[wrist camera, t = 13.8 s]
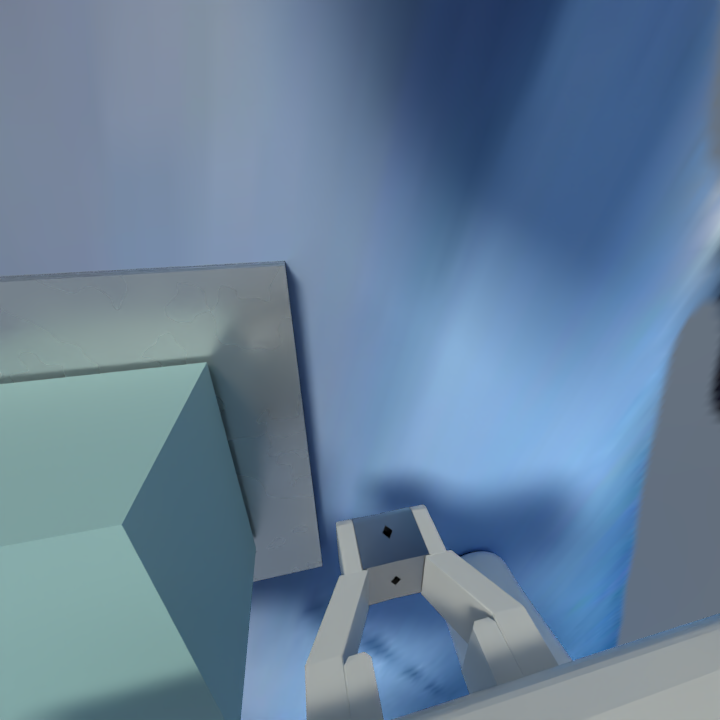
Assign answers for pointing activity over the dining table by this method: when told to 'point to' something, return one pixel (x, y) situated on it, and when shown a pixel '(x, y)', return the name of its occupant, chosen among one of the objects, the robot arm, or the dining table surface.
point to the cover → (121, 550)
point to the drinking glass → (505, 580)
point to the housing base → (188, 346)
